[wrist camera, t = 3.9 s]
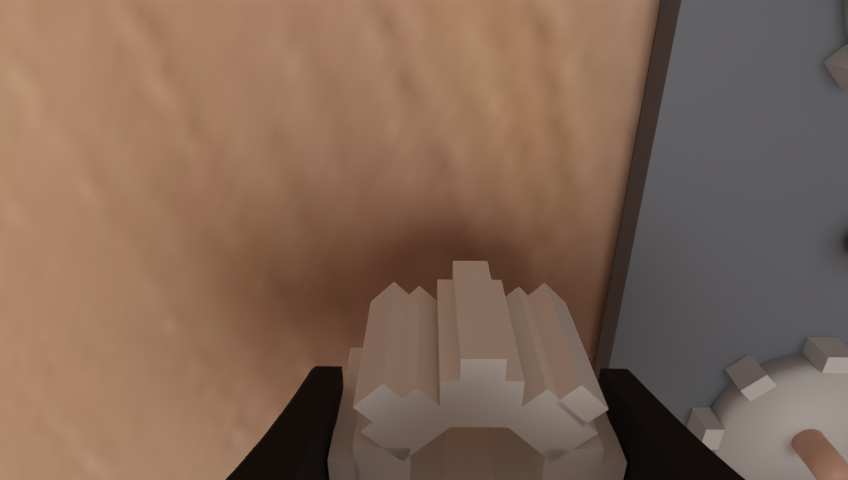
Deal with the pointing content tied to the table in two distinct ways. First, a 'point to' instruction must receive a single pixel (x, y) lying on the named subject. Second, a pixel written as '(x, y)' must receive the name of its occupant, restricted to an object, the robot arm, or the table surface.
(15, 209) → the table surface
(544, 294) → the idler gear
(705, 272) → the gear board
